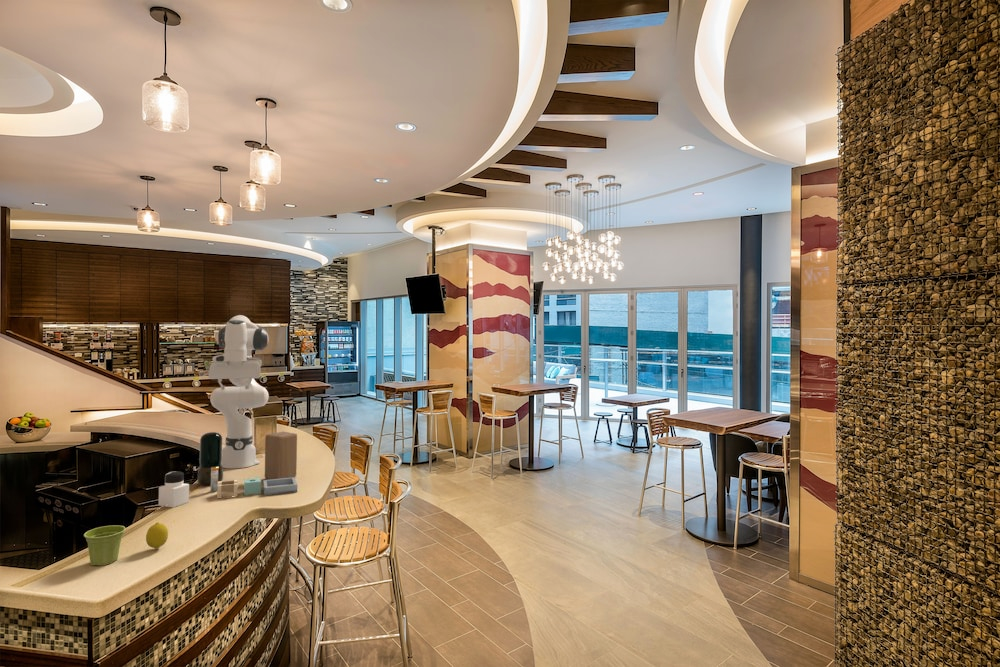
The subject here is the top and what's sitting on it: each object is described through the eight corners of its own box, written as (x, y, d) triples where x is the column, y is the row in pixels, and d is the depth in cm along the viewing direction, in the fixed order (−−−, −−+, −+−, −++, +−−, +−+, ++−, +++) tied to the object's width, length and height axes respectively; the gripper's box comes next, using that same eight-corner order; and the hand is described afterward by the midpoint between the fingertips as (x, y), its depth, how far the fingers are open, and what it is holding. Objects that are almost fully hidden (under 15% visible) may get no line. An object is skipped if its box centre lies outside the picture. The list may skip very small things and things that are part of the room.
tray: (263, 487, 220) (263, 480, 220) (294, 484, 226) (294, 477, 226) (264, 495, 209) (264, 488, 209) (297, 491, 215) (297, 484, 215)
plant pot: (120, 552, 154) (120, 522, 154) (128, 561, 147) (129, 530, 147) (79, 561, 147) (80, 531, 147) (87, 572, 140) (88, 540, 140)
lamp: (227, 482, 227) (228, 431, 227) (206, 487, 219) (207, 435, 219) (213, 478, 232) (214, 429, 232) (192, 484, 223) (193, 433, 223)
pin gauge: (210, 490, 214) (211, 466, 214) (218, 490, 215) (218, 466, 215) (210, 492, 212) (210, 468, 212) (217, 491, 213) (218, 467, 213)
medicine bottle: (189, 502, 199) (190, 471, 200) (173, 508, 193) (173, 475, 193) (174, 500, 201) (175, 469, 201) (158, 506, 195) (158, 474, 195)
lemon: (170, 549, 156) (170, 522, 156) (148, 554, 152) (149, 527, 152) (164, 544, 160) (165, 518, 160) (143, 549, 156) (143, 522, 156)
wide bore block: (218, 493, 210) (218, 481, 210) (237, 491, 213) (237, 479, 213) (217, 498, 204) (217, 486, 204) (237, 496, 207) (237, 484, 207)
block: (263, 478, 233) (264, 434, 233) (282, 473, 242) (283, 431, 242) (278, 482, 228) (279, 436, 228) (297, 476, 237) (298, 433, 237)
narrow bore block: (244, 491, 214) (244, 479, 214) (260, 489, 217) (260, 477, 217) (244, 495, 209) (244, 483, 209) (260, 493, 211) (260, 481, 211)
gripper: (261, 357, 233) (260, 388, 233) (209, 357, 224) (208, 389, 223) (262, 357, 227) (261, 389, 227) (208, 357, 218) (208, 390, 218)
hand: (234, 389), depth 225 cm, fingers open, 8 cm apart
